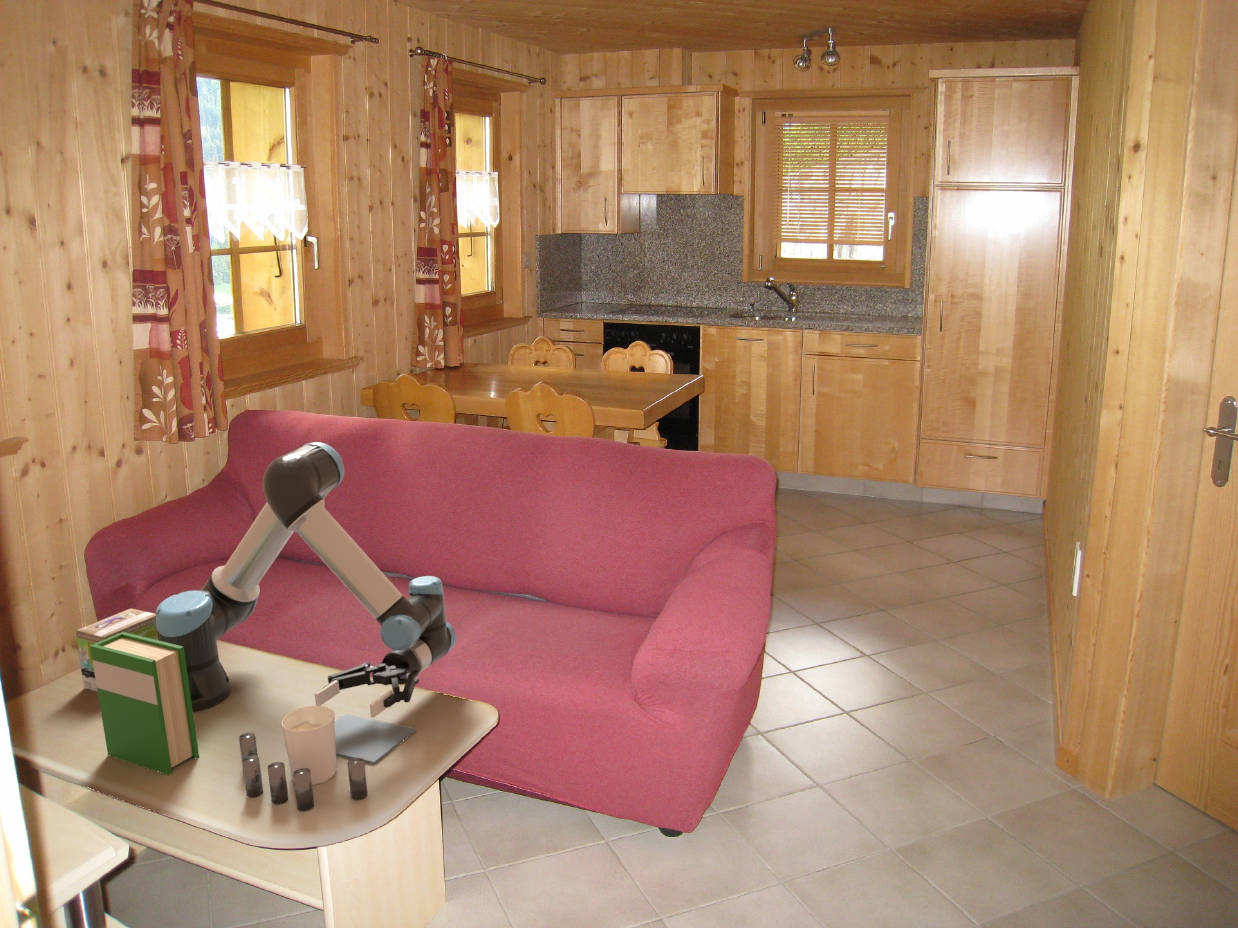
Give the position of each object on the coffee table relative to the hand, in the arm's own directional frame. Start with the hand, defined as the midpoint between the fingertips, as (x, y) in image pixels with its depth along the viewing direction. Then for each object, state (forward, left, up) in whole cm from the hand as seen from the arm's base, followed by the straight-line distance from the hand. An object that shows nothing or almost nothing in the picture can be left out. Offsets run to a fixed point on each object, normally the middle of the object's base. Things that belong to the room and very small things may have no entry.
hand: (343, 705), depth 200 cm
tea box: (-70, +7, -10) cm, 71 cm away
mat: (0, +4, -10) cm, 11 cm away
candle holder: (0, -10, -10) cm, 14 cm away
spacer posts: (0, -16, -10) cm, 19 cm away
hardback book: (-36, -16, -10) cm, 40 cm away
